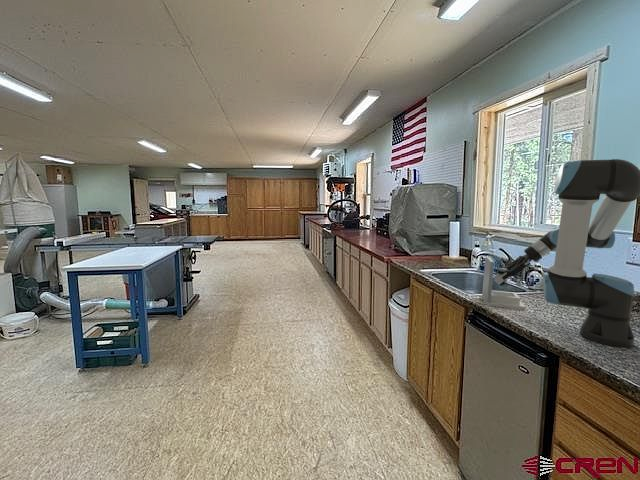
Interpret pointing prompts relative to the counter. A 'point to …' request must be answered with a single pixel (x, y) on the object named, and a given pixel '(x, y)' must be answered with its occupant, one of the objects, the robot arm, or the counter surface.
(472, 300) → the counter surface
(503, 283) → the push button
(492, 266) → the holder
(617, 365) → the counter surface
